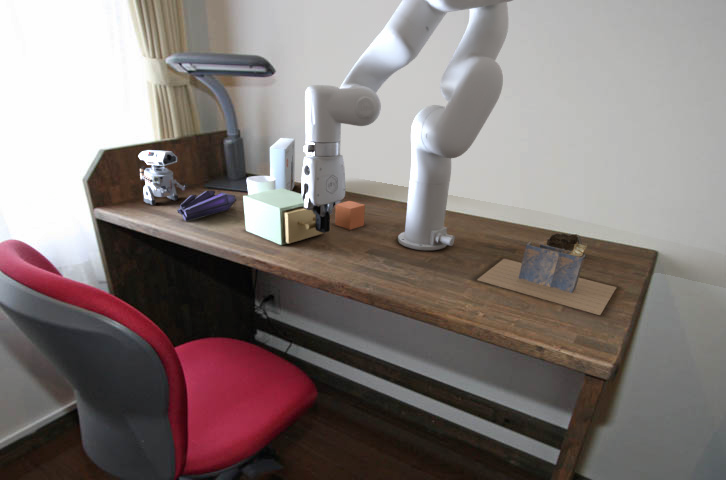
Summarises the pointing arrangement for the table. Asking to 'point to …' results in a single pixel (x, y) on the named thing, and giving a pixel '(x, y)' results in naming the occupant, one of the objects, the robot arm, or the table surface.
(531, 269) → the ruin model on sheet
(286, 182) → the skincare box
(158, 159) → the figurine
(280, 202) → the cabinet
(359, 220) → the plain salmon cube
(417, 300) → the table surface
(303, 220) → the drawer
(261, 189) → the white cup
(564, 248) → the rock sample
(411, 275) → the table surface
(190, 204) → the crystal
